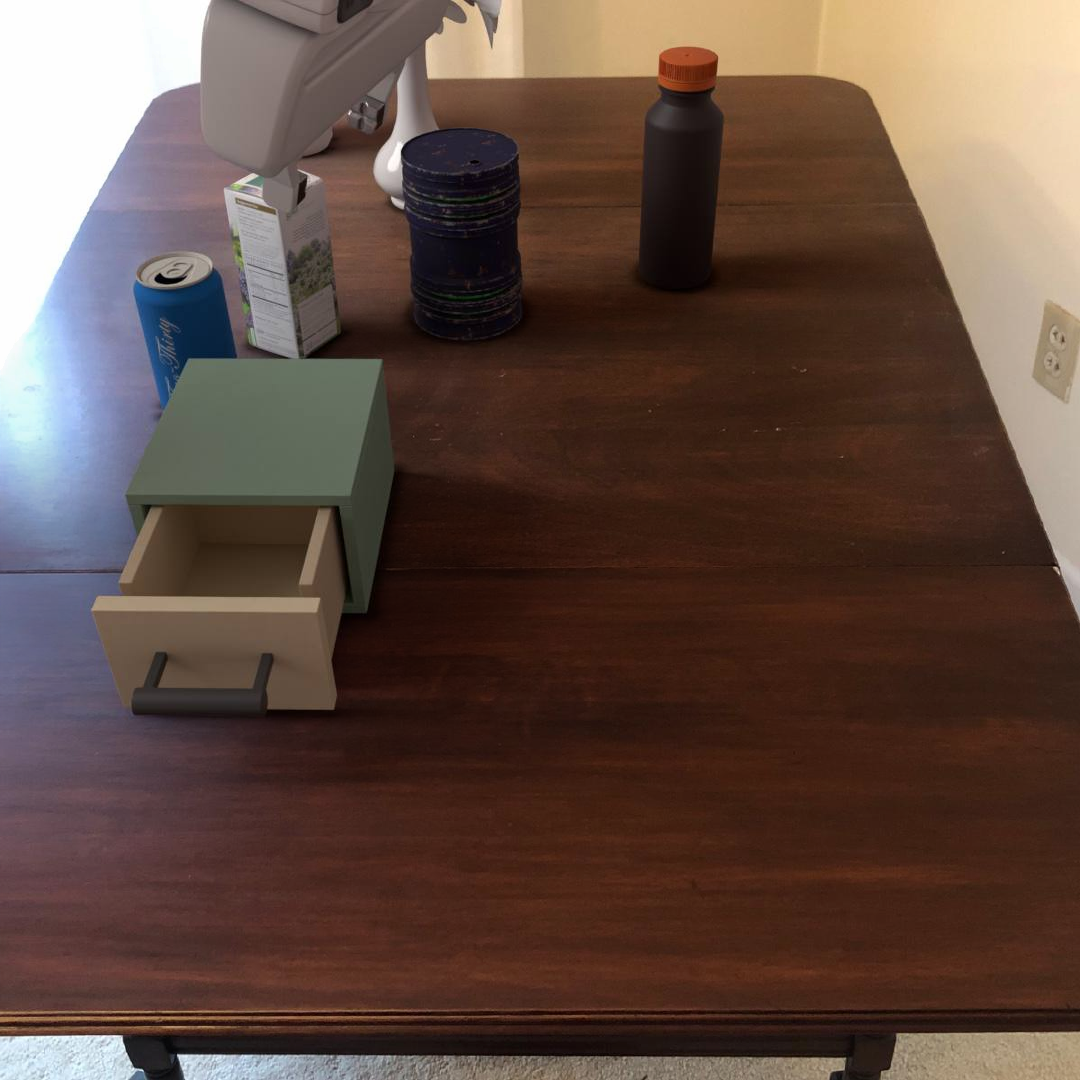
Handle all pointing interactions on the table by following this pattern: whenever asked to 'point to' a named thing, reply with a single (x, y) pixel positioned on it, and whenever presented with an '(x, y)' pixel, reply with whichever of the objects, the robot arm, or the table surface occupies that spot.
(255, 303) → the syrup box
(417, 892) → the table surface
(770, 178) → the table surface
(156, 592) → the drawer
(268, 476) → the cabinet
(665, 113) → the bottle
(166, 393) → the beverage can
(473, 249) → the dark blue cylinder
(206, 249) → the table surface
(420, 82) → the flower vase
